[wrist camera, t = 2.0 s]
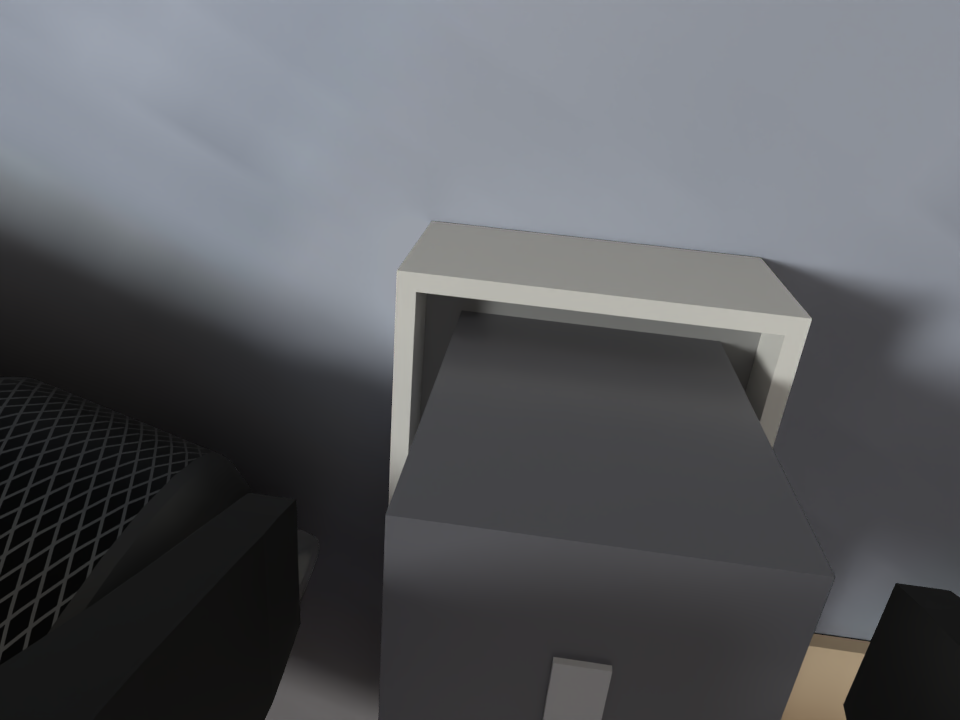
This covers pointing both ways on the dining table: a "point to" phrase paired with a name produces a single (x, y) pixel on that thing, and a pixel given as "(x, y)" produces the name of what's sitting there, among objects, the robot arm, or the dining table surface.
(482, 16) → the dining table surface
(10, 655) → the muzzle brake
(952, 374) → the dining table surface
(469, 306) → the socket strip
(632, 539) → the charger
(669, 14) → the dining table surface
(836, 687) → the coaster
